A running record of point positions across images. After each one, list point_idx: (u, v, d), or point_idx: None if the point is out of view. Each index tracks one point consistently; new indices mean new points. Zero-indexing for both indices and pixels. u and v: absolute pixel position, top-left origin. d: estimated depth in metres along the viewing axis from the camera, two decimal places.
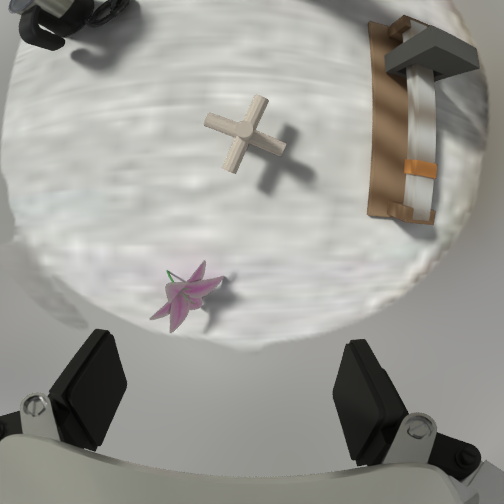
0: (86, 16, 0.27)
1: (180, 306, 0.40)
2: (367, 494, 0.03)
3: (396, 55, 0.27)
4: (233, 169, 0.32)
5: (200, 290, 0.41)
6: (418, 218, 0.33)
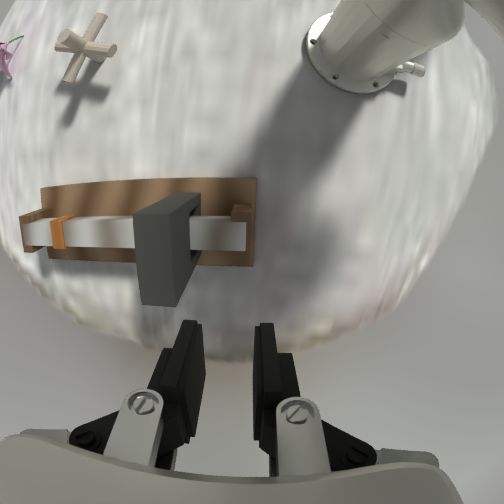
0: None
1: None
2: (367, 494, 0.03)
3: (182, 196, 0.29)
4: (56, 47, 0.21)
5: (2, 62, 0.23)
6: (23, 231, 0.28)
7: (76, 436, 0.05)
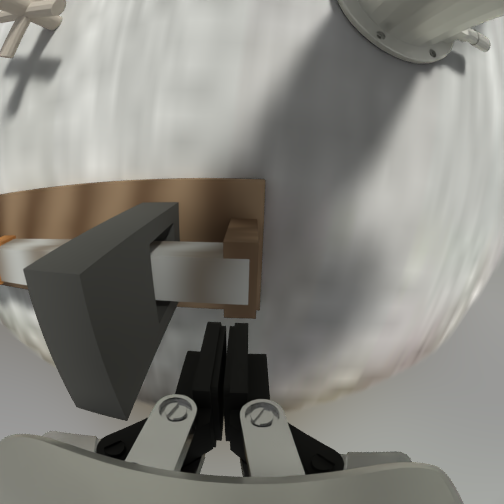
0: None
1: None
2: (367, 494, 0.03)
3: (143, 212, 0.17)
4: None
5: None
6: None
7: (104, 447, 0.05)
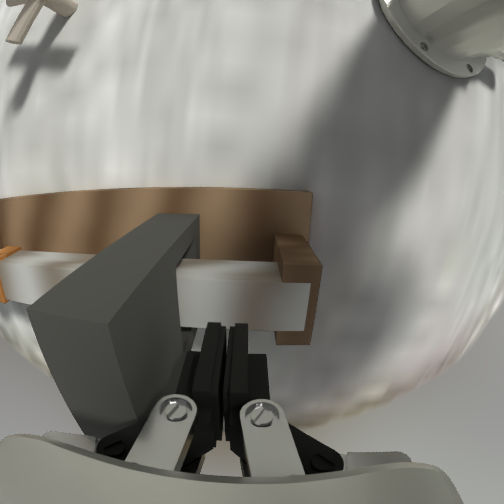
0: None
1: None
2: (367, 494, 0.03)
3: (164, 227, 0.15)
4: (8, 0, 0.08)
5: None
6: None
7: (104, 447, 0.05)
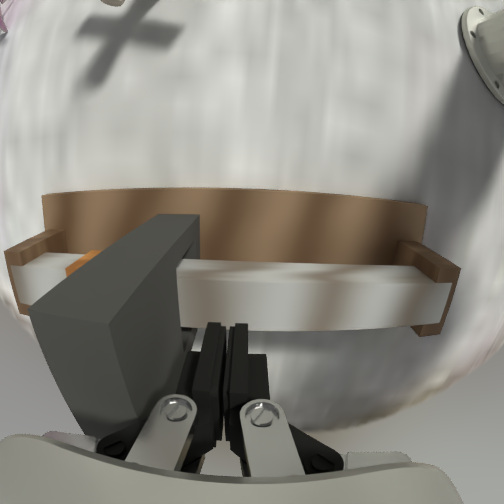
0: None
1: None
2: (367, 494, 0.03)
3: (164, 227, 0.15)
4: None
5: None
6: (14, 278, 0.14)
7: (104, 447, 0.05)
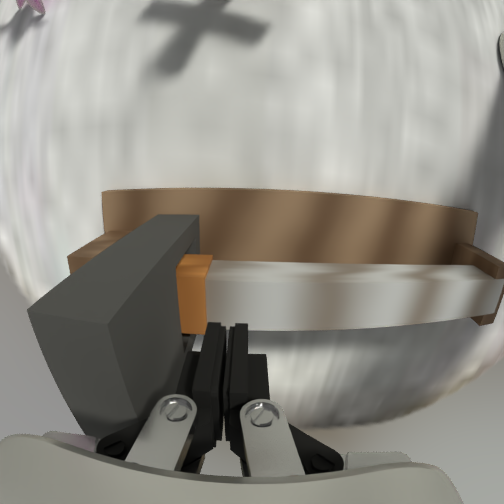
0: None
1: None
2: (368, 494, 0.03)
3: (163, 228, 0.15)
4: None
5: None
6: None
7: (104, 447, 0.05)
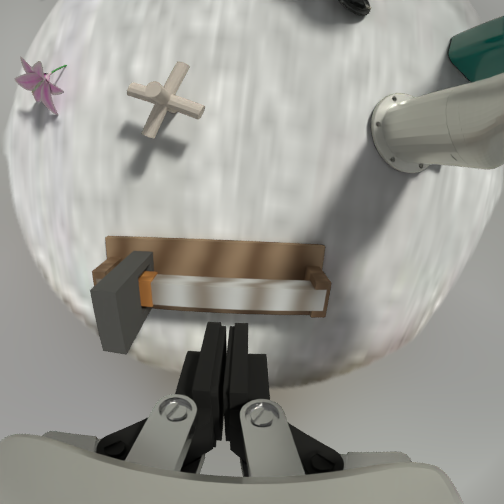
0: None
1: (33, 81, 0.26)
2: (367, 494, 0.03)
3: (134, 260, 0.34)
4: (129, 91, 0.27)
5: (45, 95, 0.29)
6: None
7: (104, 447, 0.05)
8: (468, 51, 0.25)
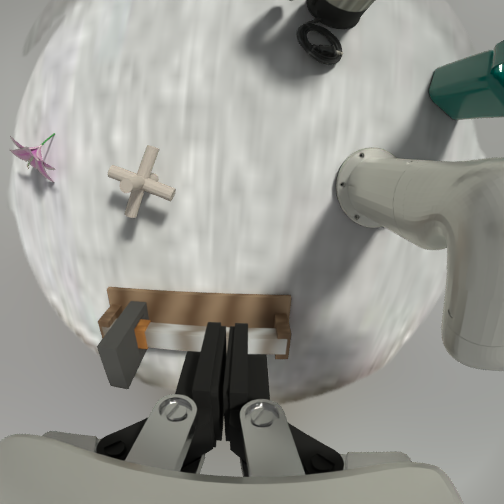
0: (324, 20, 0.31)
1: (26, 154, 0.34)
2: (367, 494, 0.03)
3: (131, 313, 0.41)
4: (110, 175, 0.34)
5: (40, 166, 0.36)
6: (103, 332, 0.41)
7: (104, 447, 0.05)
8: (448, 91, 0.29)
